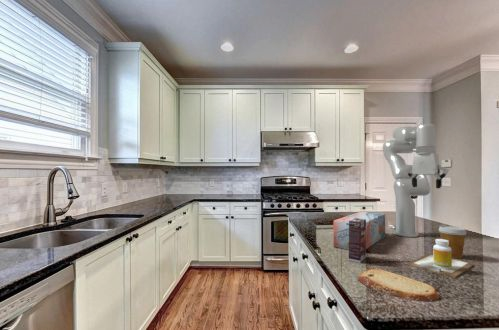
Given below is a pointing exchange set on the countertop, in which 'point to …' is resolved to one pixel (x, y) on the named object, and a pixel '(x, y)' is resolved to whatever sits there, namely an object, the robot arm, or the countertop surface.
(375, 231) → the soda box
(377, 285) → the bread slice
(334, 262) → the countertop surface
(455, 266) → the clipboard
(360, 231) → the supplement box
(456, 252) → the disposable coffee cup
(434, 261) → the supplement bottle
